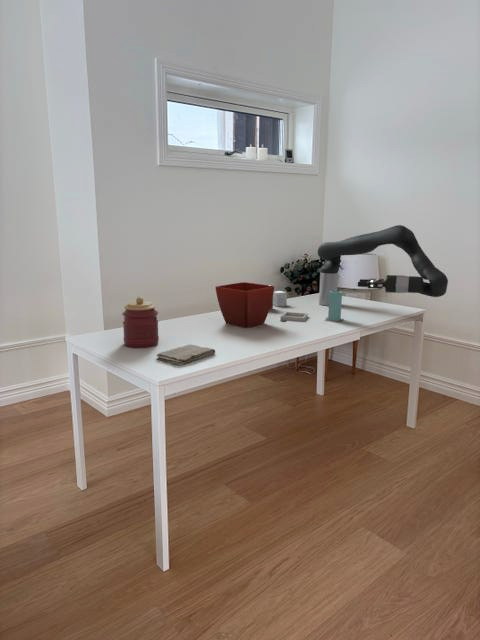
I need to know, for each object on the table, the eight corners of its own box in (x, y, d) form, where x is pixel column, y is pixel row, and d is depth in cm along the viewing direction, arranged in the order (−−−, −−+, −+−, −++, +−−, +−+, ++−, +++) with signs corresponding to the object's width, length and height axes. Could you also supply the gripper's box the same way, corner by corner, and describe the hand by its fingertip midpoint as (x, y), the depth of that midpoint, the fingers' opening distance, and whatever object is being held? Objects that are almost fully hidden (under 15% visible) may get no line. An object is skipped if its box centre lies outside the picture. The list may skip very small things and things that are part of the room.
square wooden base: (326, 318, 223) (327, 311, 223) (344, 320, 221) (344, 312, 220) (324, 322, 216) (324, 314, 215) (342, 323, 214) (342, 315, 213)
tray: (285, 316, 228) (285, 311, 227) (307, 318, 225) (307, 313, 224) (280, 320, 218) (280, 316, 218) (303, 322, 215) (303, 317, 214)
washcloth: (154, 361, 159) (153, 352, 159) (190, 349, 173) (190, 341, 173) (180, 368, 152) (179, 359, 152) (216, 355, 166) (216, 347, 166)
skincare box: (286, 306, 253) (287, 292, 252) (276, 306, 251) (277, 293, 249) (280, 304, 259) (281, 290, 257) (271, 304, 256) (271, 291, 254)
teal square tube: (329, 318, 222) (331, 290, 219) (340, 319, 220) (342, 291, 217) (328, 320, 217) (329, 292, 214) (339, 321, 215) (340, 292, 212)
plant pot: (214, 323, 212) (214, 286, 208) (243, 317, 226) (243, 281, 222) (246, 331, 199) (246, 291, 196) (274, 323, 213) (275, 286, 209)
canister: (127, 350, 170) (125, 301, 167) (120, 341, 182) (118, 295, 178) (162, 346, 176) (161, 299, 172) (154, 337, 187) (153, 293, 183)
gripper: (397, 273, 212) (360, 272, 217) (397, 277, 199) (357, 276, 204) (396, 290, 214) (359, 289, 219) (396, 295, 200) (356, 293, 205)
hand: (358, 282), depth 211 cm, fingers open, 8 cm apart
